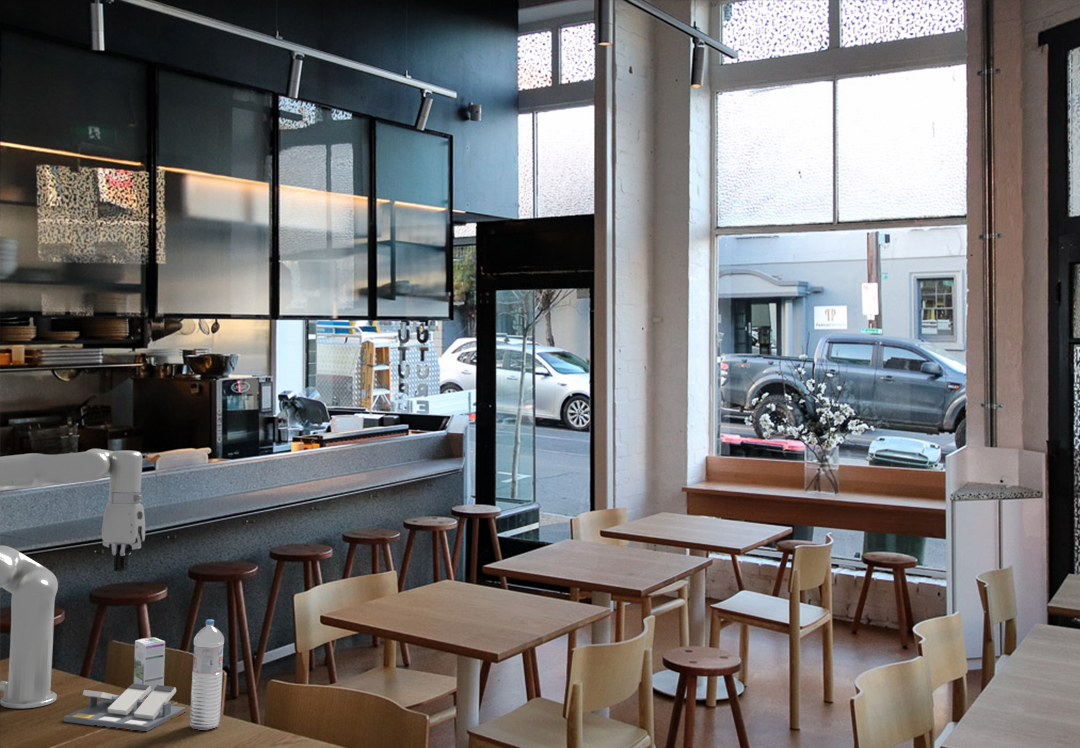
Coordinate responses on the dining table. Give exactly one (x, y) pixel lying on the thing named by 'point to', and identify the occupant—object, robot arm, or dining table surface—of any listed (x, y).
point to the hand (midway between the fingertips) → (120, 570)
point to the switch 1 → (99, 694)
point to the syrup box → (149, 662)
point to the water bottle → (207, 678)
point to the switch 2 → (155, 702)
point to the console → (119, 715)
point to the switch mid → (129, 699)
